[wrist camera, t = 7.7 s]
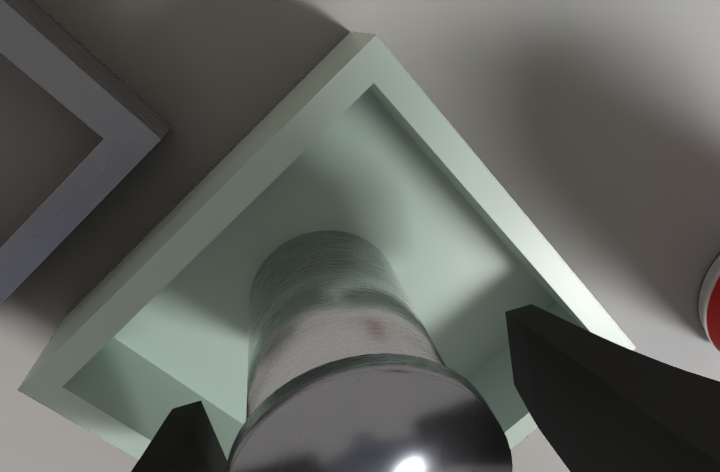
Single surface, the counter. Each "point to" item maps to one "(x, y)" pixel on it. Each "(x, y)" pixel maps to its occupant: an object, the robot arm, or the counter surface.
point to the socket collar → (92, 106)
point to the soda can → (711, 304)
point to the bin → (300, 216)
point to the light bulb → (352, 372)
